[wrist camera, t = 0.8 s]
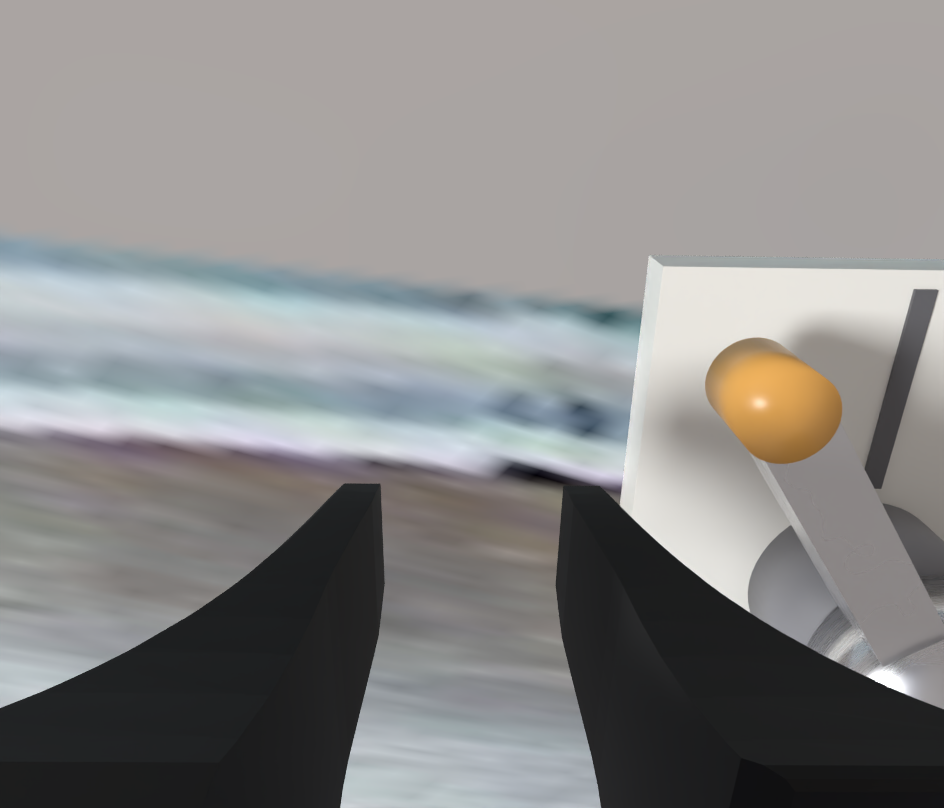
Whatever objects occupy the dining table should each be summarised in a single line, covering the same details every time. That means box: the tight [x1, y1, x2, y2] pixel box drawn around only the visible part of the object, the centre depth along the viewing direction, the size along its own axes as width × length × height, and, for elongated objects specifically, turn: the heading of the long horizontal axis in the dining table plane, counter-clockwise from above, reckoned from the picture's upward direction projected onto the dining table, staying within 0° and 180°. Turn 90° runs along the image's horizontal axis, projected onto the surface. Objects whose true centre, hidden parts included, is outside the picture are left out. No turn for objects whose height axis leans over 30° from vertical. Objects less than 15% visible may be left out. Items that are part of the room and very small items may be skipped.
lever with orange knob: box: [705, 337, 944, 709], centre depth 16 cm, size 14×6×2 cm, turn 34°
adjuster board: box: [620, 255, 944, 646], centre depth 20 cm, size 16×14×4 cm
